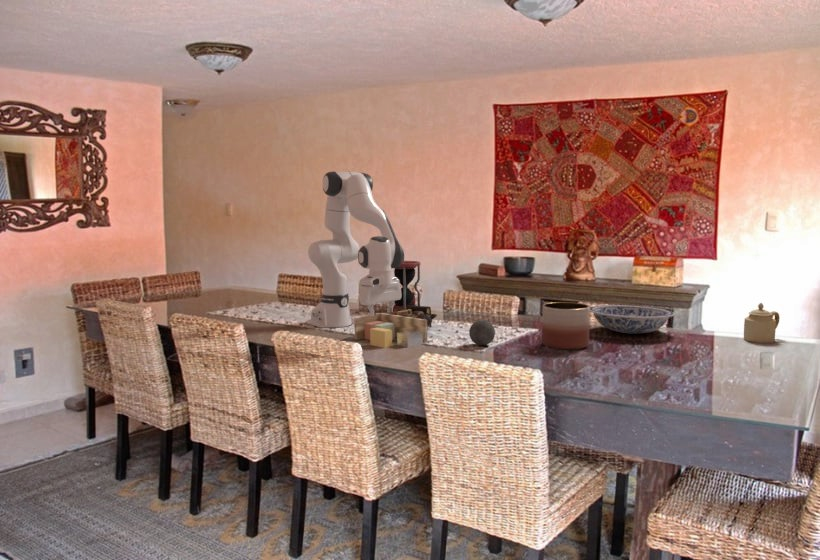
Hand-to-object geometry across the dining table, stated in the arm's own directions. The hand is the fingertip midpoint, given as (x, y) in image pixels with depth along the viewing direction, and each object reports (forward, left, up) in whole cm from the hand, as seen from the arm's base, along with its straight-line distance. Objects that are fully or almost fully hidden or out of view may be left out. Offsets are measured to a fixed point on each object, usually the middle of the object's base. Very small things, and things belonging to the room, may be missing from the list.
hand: (381, 314), depth 257 cm
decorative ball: (+30, +26, -13) cm, 41 cm away
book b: (-7, +9, -13) cm, 17 cm away
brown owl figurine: (-9, +31, -13) cm, 35 cm away
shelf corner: (-3, +9, -13) cm, 15 cm away
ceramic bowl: (+64, +85, -13) cm, 107 cm away
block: (+7, +9, -13) cm, 17 cm away
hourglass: (-47, +66, -13) cm, 82 cm away
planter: (+55, +46, -13) cm, 72 cm away
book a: (-12, +9, -13) cm, 20 cm away
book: (0, 0, -13) cm, 13 cm away
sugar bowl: (+109, +105, -13) cm, 151 cm away
